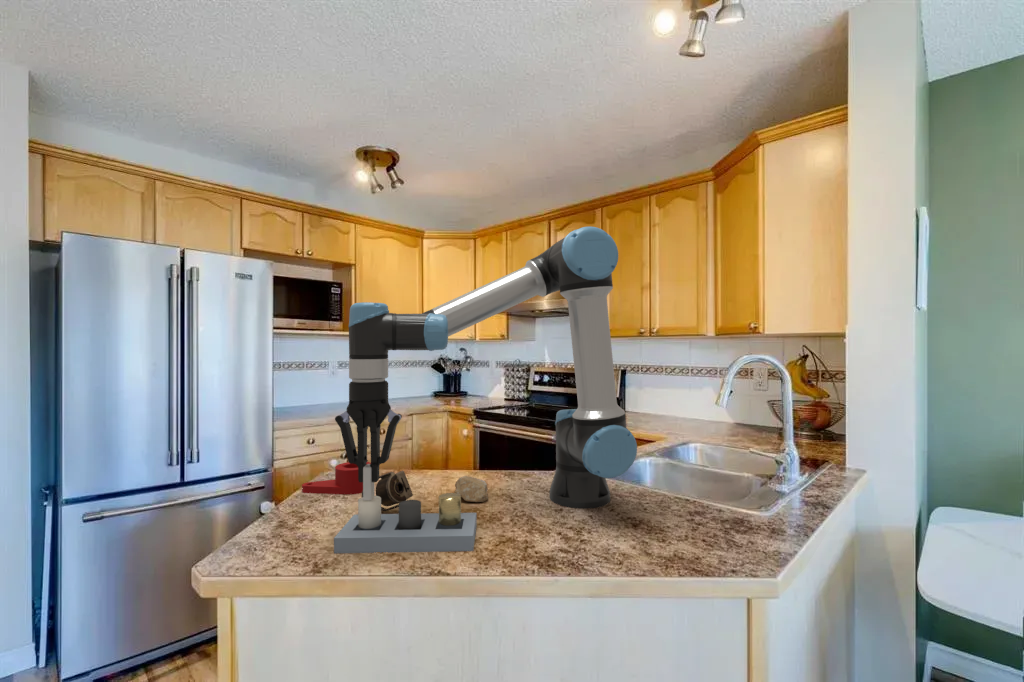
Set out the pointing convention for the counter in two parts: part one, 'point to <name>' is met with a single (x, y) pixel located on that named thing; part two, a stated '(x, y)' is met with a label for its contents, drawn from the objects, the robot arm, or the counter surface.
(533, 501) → the counter surface
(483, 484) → the stone
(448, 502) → the gold cylinder
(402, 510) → the dark gray cylinder
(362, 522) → the white rounded cylinder
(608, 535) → the counter surface
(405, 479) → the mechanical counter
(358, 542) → the grey slotted holder
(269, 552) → the counter surface
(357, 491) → the lever
